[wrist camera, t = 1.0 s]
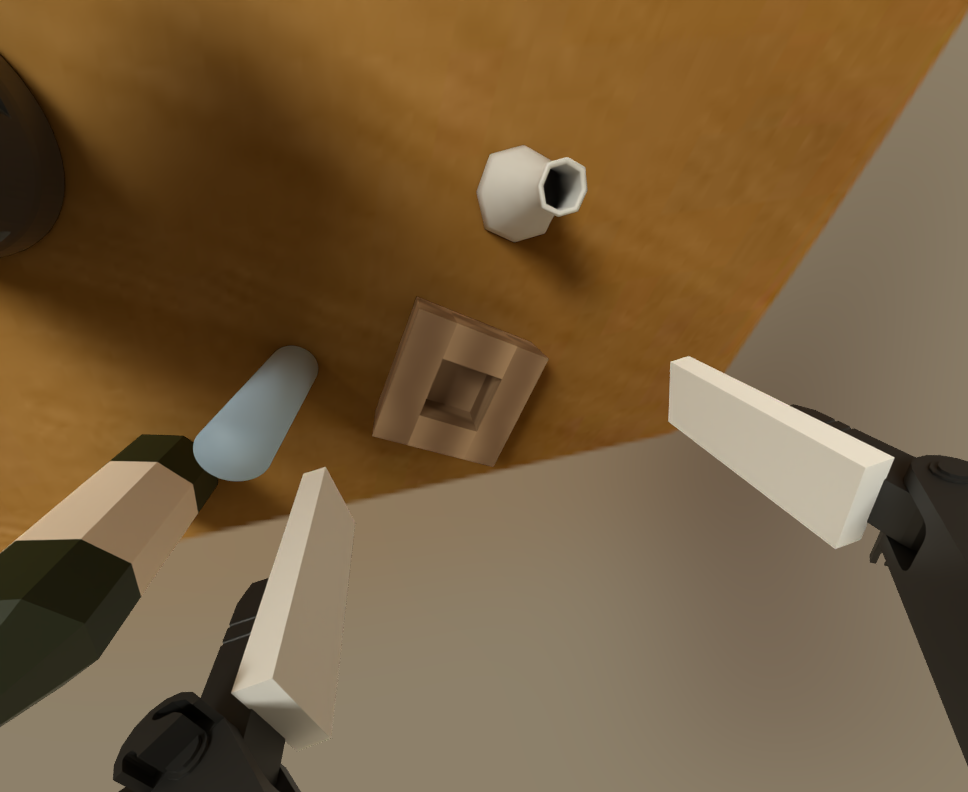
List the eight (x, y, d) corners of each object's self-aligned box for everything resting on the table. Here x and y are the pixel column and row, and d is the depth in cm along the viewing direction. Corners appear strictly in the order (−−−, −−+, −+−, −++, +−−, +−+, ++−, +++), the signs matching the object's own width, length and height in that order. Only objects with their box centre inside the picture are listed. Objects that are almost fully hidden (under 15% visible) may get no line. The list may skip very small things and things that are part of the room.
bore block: (375, 410, 37) (372, 436, 33) (416, 296, 33) (419, 308, 29) (483, 440, 41) (493, 467, 37) (531, 342, 37) (548, 358, 33)
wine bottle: (129, 418, 33) (-1013, 1265, 6) (232, 451, 36) (-237, 1105, 9) (105, 488, 35) (-810, 1332, 9) (204, 514, 38) (-237, 1185, 12)
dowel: (265, 379, 34) (188, 472, 21) (275, 339, 32) (199, 414, 20) (312, 392, 35) (264, 487, 23) (323, 354, 34) (279, 433, 21)
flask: (551, 245, 34) (605, 254, 25) (473, 239, 32) (500, 247, 23) (564, 151, 31) (630, 123, 22) (478, 139, 29) (512, 105, 20)
